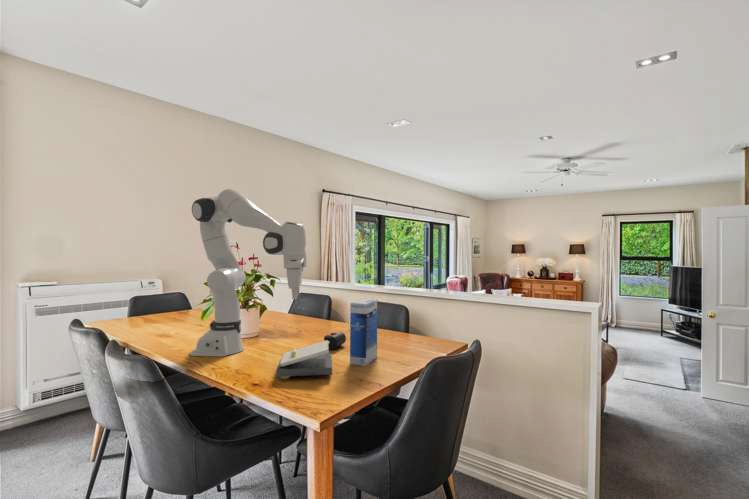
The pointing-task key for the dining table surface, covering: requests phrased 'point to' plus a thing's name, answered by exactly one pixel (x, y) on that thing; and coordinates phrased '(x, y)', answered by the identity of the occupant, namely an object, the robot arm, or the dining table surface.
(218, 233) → the robot arm
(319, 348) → the level plate
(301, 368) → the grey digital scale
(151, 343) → the dining table surface
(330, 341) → the end cap
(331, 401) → the dining table surface
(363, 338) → the string lights box
